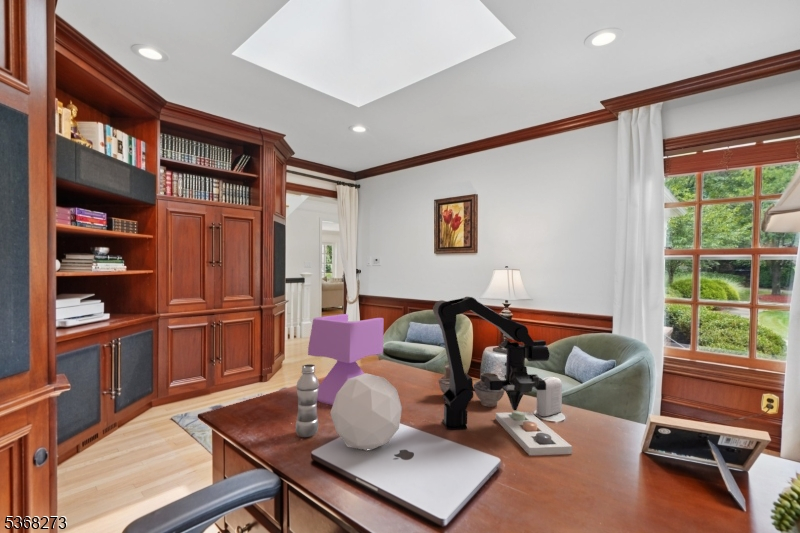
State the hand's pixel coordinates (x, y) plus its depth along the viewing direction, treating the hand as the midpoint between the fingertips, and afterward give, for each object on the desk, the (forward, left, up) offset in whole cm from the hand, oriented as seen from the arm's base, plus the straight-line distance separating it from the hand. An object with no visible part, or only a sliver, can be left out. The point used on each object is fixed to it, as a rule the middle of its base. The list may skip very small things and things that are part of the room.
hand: (514, 409), depth 117 cm
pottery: (-8, +21, -4) cm, 23 cm away
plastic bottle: (-65, -5, -4) cm, 65 cm away
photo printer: (+16, +7, -4) cm, 18 cm away
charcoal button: (+1, -17, -4) cm, 17 cm away
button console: (+1, -9, -4) cm, 10 cm away
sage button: (+1, -1, -4) cm, 4 cm away
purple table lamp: (-55, +26, -4) cm, 61 cm away
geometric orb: (-48, -12, -4) cm, 50 cm away
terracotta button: (+1, -9, -4) cm, 10 cm away
